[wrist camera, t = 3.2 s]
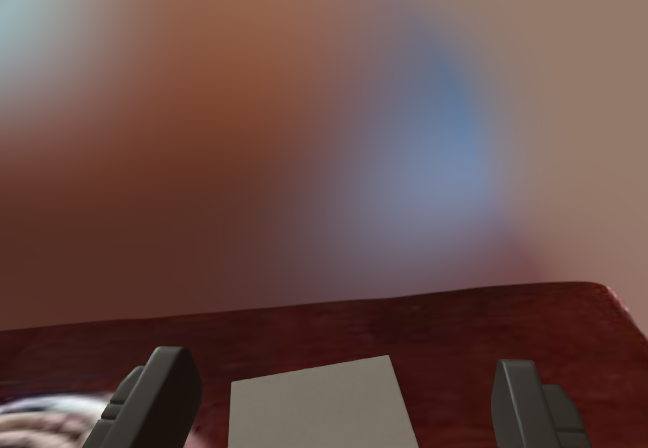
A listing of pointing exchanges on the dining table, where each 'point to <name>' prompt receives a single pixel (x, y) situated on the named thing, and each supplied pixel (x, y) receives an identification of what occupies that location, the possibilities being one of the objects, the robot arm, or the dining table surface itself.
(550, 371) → the dining table surface
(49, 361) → the dining table surface
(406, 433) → the left mat
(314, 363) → the dining table surface
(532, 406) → the robot arm
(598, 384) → the dining table surface
